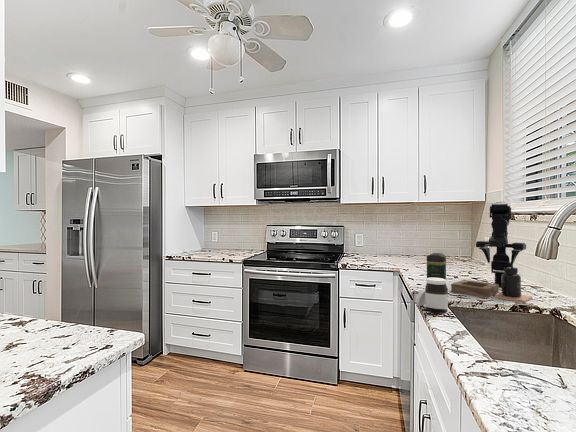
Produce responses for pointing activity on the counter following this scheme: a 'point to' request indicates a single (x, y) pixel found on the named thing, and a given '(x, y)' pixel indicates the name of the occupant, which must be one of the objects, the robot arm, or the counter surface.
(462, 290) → the walnut caddy
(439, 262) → the coffee jar
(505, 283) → the supplement bottle
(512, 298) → the terracotta coaster
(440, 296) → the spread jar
